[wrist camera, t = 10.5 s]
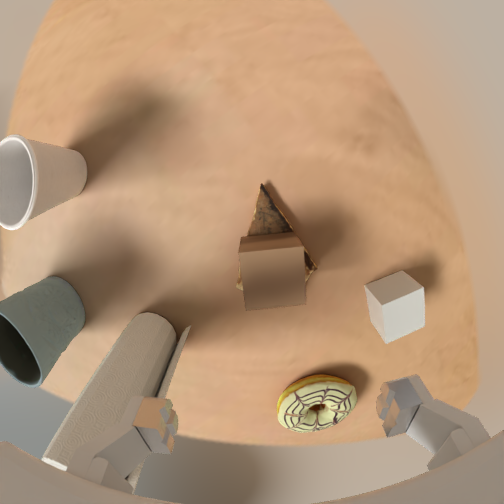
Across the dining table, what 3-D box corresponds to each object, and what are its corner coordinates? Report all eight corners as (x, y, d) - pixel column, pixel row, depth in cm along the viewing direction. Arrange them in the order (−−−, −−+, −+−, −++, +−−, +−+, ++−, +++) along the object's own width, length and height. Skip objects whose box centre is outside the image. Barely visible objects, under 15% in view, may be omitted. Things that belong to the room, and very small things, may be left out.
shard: (260, 182, 26) (261, 183, 25) (334, 203, 27) (339, 206, 25) (234, 283, 29) (232, 290, 28) (302, 299, 30) (305, 307, 28)
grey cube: (364, 284, 29) (381, 305, 24) (401, 269, 28) (423, 287, 23) (370, 320, 30) (385, 343, 25) (405, 305, 30) (425, 326, 25)
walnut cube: (241, 237, 26) (238, 252, 21) (294, 231, 26) (303, 246, 21) (247, 286, 27) (245, 310, 23) (297, 281, 27) (306, 304, 22)
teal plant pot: (39, 319, 31) (-8, 362, 19) (35, 258, 28) (-26, 293, 17) (91, 346, 32) (49, 402, 20) (92, 283, 29) (32, 335, 17)
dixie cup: (86, 220, 27) (27, 245, 17) (39, 197, 26) (-19, 212, 16) (106, 148, 24) (46, 145, 15) (56, 131, 23) (-4, 127, 14)
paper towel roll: (129, 342, 31) (51, 478, 11) (133, 303, 29) (30, 447, 9) (181, 361, 32) (133, 516, 11) (191, 324, 30) (132, 499, 10)
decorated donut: (340, 416, 35) (345, 433, 32) (272, 418, 35) (273, 437, 32) (360, 367, 32) (369, 386, 29) (281, 369, 32) (283, 390, 29)
